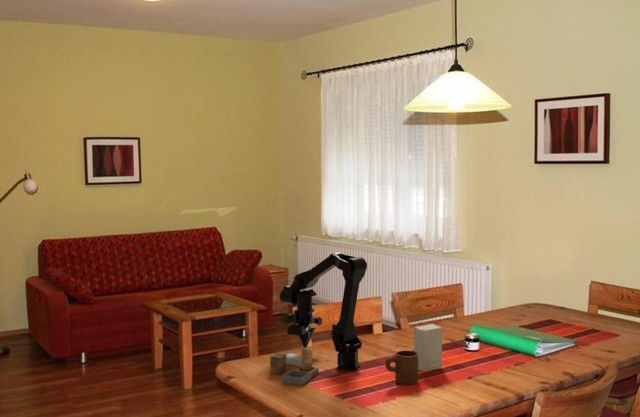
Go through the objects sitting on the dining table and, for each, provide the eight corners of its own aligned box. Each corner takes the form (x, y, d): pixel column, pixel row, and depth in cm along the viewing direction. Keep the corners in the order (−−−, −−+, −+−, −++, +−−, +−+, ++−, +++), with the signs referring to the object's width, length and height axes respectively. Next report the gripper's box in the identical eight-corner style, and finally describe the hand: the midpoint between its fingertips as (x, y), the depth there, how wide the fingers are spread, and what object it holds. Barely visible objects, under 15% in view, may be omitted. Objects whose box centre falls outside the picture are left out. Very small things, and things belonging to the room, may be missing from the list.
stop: (286, 371, 239) (286, 354, 238) (280, 374, 235) (280, 357, 235) (276, 370, 240) (275, 353, 240) (270, 373, 237) (270, 356, 236)
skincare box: (432, 364, 246) (433, 323, 245) (442, 368, 240) (443, 327, 239) (413, 367, 242) (413, 326, 241) (422, 372, 237) (423, 329, 236)
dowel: (314, 373, 236) (313, 347, 236) (309, 376, 233) (309, 350, 232) (304, 372, 238) (304, 346, 237) (299, 375, 234) (299, 349, 234)
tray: (310, 379, 230) (310, 372, 230) (301, 386, 224) (301, 378, 223) (291, 377, 233) (291, 369, 233) (282, 383, 226) (282, 376, 226)
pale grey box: (308, 362, 250) (308, 356, 250) (300, 367, 245) (300, 360, 245) (289, 359, 254) (289, 353, 254) (281, 364, 249) (281, 357, 249)
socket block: (318, 373, 237) (318, 367, 237) (311, 378, 231) (311, 372, 231) (302, 370, 239) (302, 365, 239) (295, 375, 234) (295, 370, 234)
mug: (391, 388, 221) (391, 360, 220) (379, 381, 227) (379, 353, 227) (422, 382, 226) (423, 354, 225) (409, 376, 233) (409, 349, 232)
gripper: (296, 300, 267) (296, 339, 268) (273, 310, 250) (274, 352, 251) (322, 302, 262) (322, 342, 264) (300, 312, 245) (301, 355, 247)
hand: (305, 348), depth 256 cm, fingers closed
